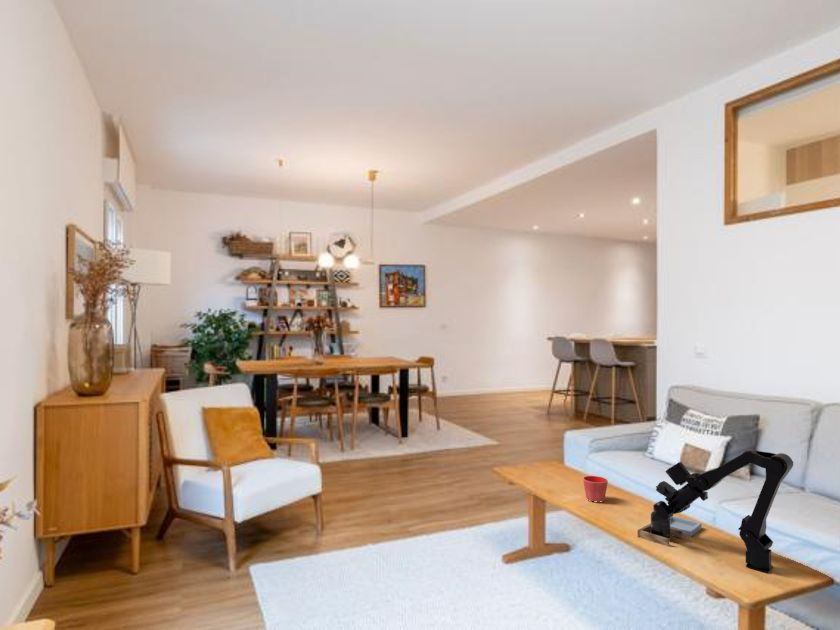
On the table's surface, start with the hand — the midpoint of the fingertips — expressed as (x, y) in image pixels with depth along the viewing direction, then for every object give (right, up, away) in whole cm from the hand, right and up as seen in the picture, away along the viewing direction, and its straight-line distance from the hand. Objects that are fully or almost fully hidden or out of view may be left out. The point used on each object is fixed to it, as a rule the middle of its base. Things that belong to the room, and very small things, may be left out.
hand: (656, 517), depth 204 cm
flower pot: (-10, -8, +41) cm, 43 cm away
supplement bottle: (+1, -7, -1) cm, 7 cm away
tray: (+12, -7, +7) cm, 16 cm away
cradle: (+1, -7, -1) cm, 7 cm away
